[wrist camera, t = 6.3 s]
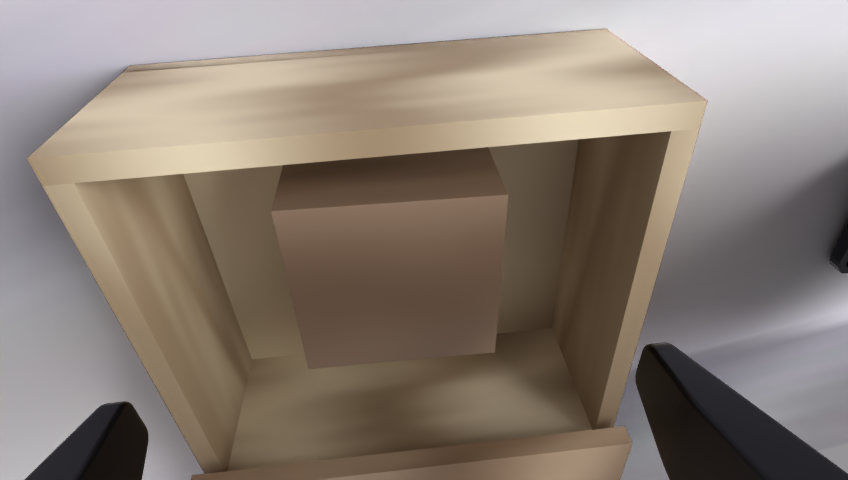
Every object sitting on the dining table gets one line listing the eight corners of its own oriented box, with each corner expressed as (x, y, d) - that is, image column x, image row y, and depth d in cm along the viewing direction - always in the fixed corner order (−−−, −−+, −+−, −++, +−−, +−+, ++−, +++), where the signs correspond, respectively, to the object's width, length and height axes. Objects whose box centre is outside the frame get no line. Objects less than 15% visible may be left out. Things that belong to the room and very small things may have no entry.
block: (471, 262, 15) (494, 352, 13) (318, 274, 15) (308, 368, 12) (476, 120, 13) (508, 194, 10) (291, 131, 13) (271, 211, 10)
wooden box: (606, 28, 12) (707, 100, 9) (560, 326, 18) (608, 442, 15) (129, 65, 12) (26, 158, 8) (243, 359, 18) (212, 487, 14)
